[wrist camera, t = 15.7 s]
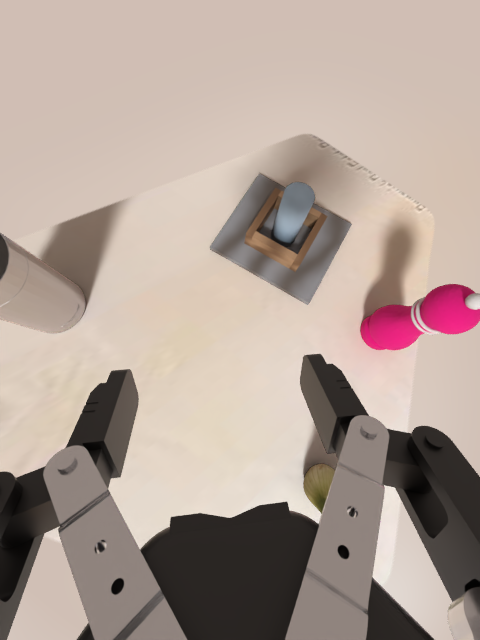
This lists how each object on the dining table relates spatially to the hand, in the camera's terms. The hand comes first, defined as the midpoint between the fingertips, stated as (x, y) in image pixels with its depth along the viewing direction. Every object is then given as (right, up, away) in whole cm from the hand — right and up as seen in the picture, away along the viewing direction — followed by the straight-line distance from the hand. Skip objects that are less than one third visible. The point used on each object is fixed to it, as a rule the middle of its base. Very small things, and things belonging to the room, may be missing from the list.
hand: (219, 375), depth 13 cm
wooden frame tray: (+9, +18, +38) cm, 43 cm away
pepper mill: (+25, 0, +36) cm, 44 cm away
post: (+9, +18, +37) cm, 42 cm away
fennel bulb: (+13, -22, +30) cm, 39 cm away
